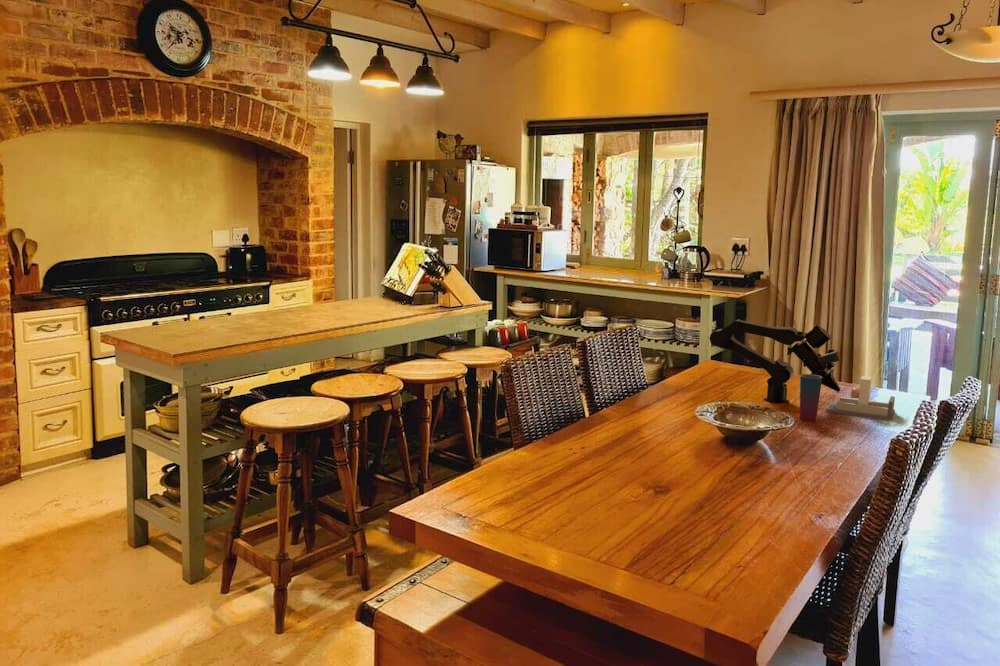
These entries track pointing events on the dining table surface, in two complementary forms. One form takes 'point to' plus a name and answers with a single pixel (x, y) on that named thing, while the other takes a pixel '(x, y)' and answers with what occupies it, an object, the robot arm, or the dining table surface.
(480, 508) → the dining table surface
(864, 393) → the plug
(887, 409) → the station
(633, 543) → the dining table surface
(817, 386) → the cup
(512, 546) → the dining table surface
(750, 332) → the robot arm
